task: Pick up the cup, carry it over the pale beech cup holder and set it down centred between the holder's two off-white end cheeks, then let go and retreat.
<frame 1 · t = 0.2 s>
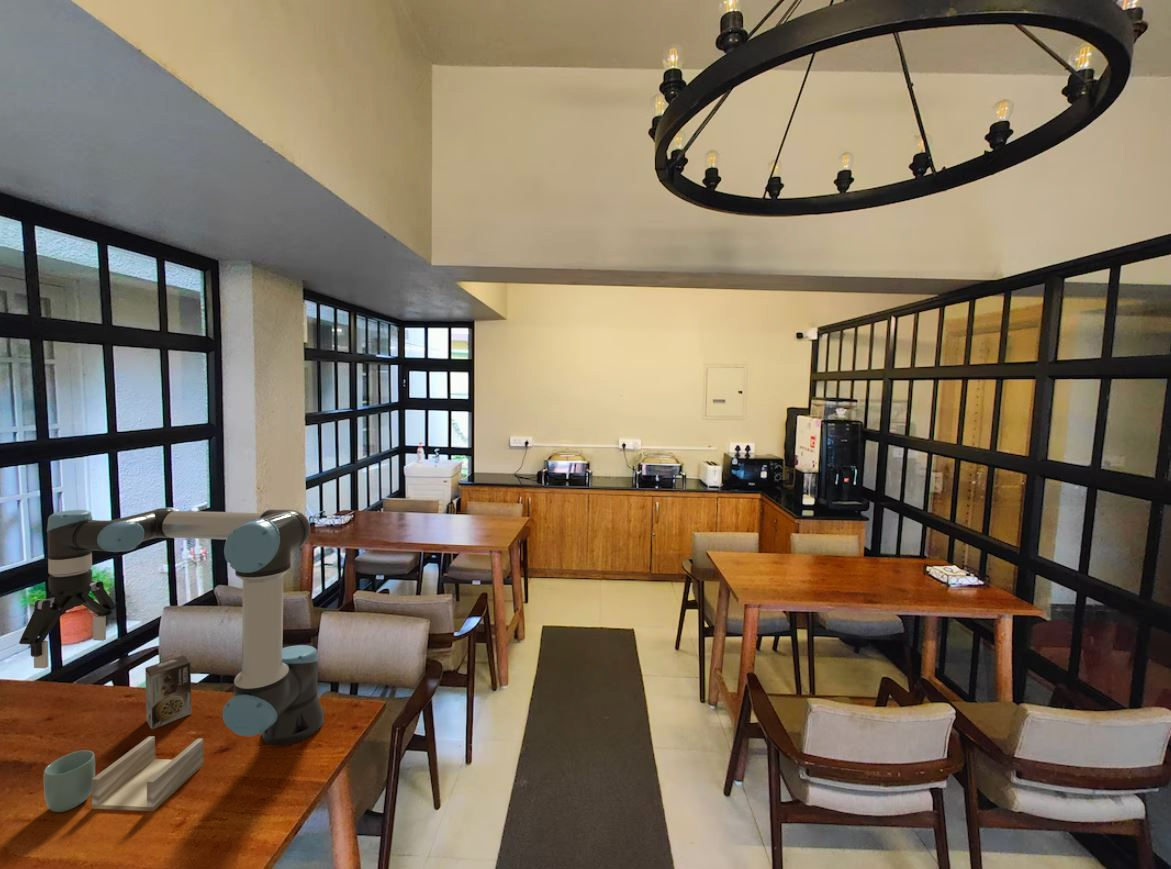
hand: (72, 653, 121), 27 cm above the table, fingers open, 13 cm apart
cup holder: (151, 785, 114), on the table
cup: (70, 804, 108), on the table
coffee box: (168, 718, 138), on the table
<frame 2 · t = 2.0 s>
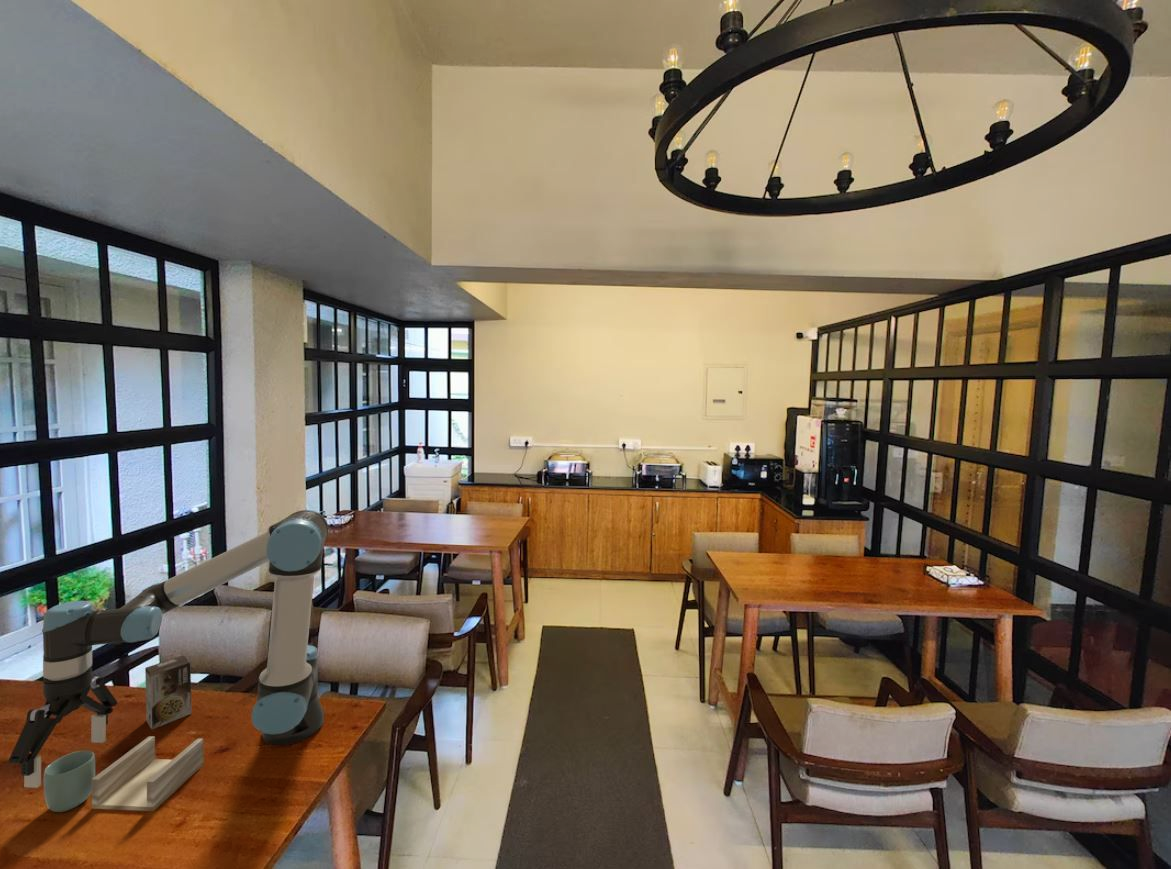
hand: (67, 762, 107), 10 cm above the table, fingers open, 13 cm apart
nothing on the table moved.
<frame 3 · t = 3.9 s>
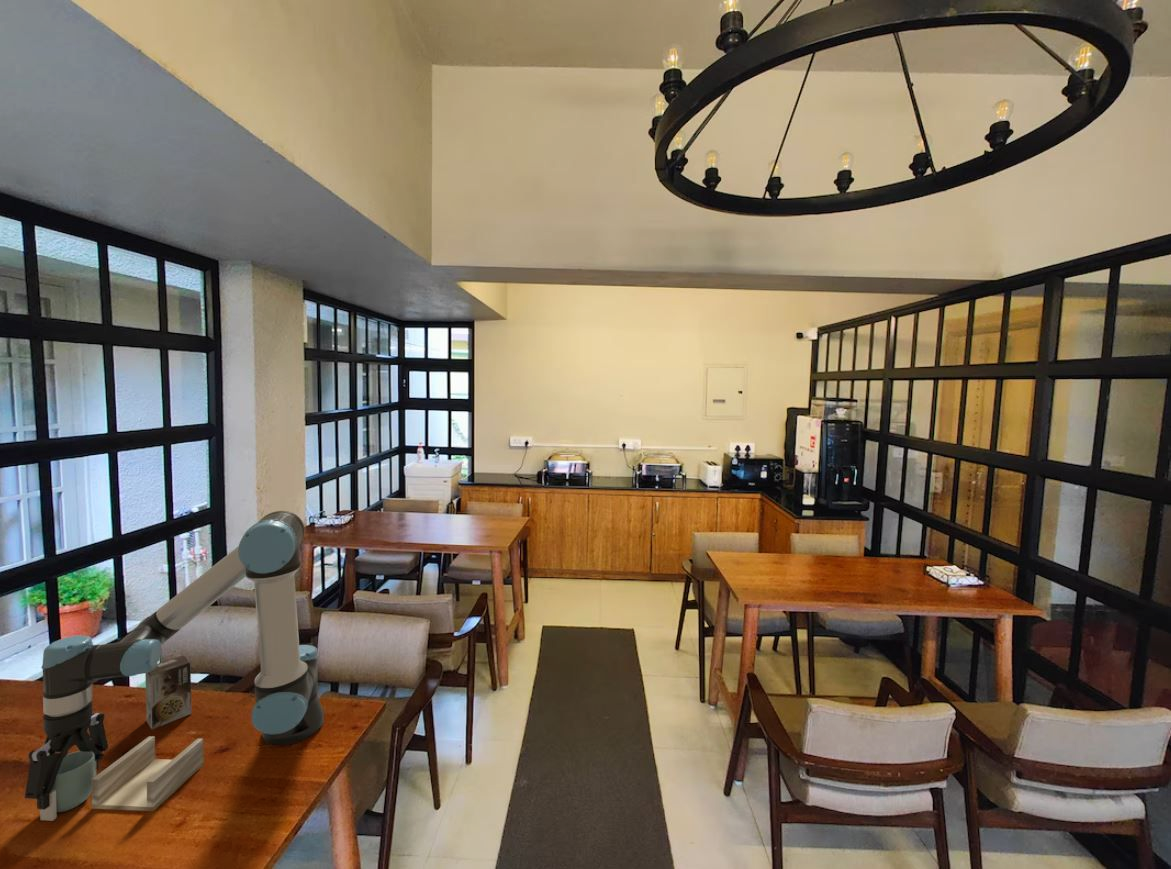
hand: (69, 802, 108), 0 cm above the table, fingers closed on cup, 8 cm apart
cup: (70, 804, 108), on the table, touching gripper
everything else where it was.
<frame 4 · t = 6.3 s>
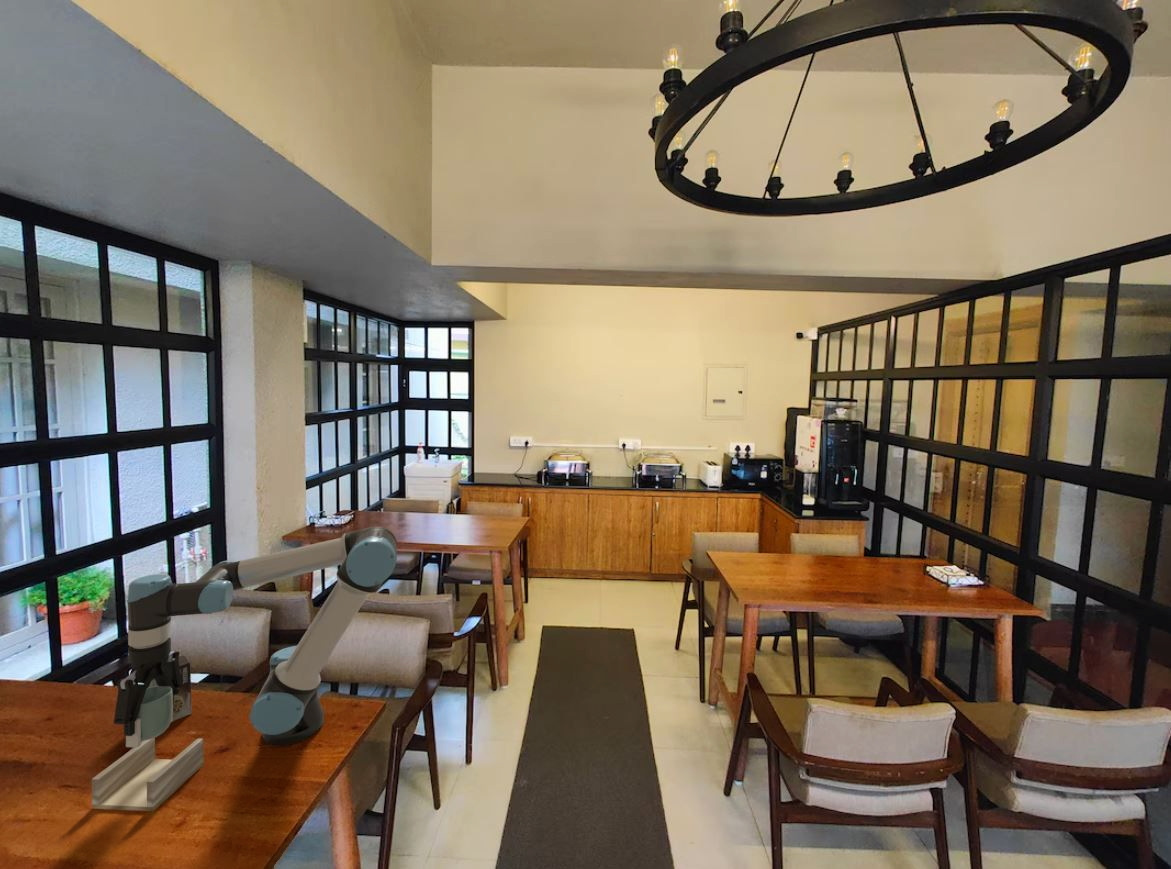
hand: (150, 733, 113), 13 cm above the table, fingers closed on cup, 8 cm apart
cup: (151, 735, 113), point 13 cm above the table, touching gripper
everything else where it was.
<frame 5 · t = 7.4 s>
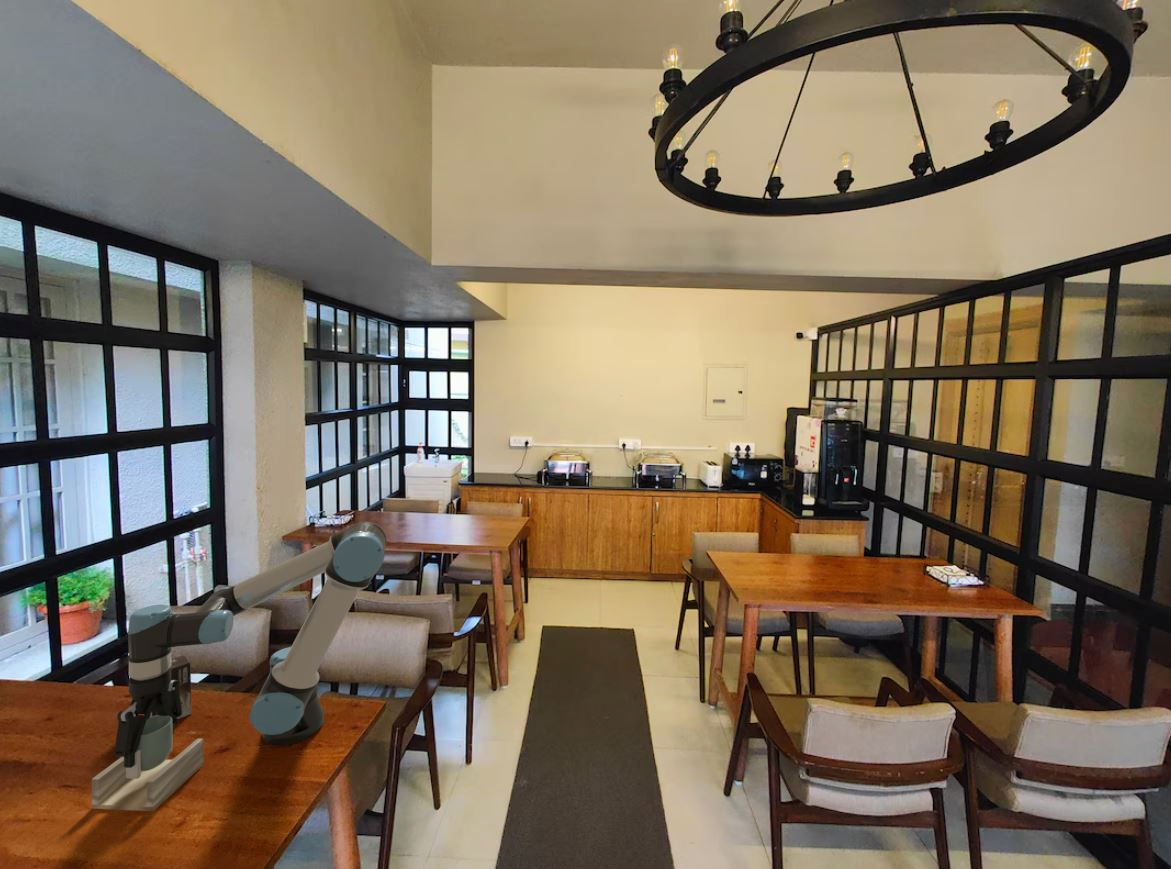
hand: (150, 763, 114), 6 cm above the table, fingers closed on cup, 8 cm apart
cup: (150, 765, 114), point 5 cm above the table, touching gripper
everything else where it was.
when the fingers open (3 cm above the table, at t = 8.4 s): cup drops 2 cm, resting on cup holder.
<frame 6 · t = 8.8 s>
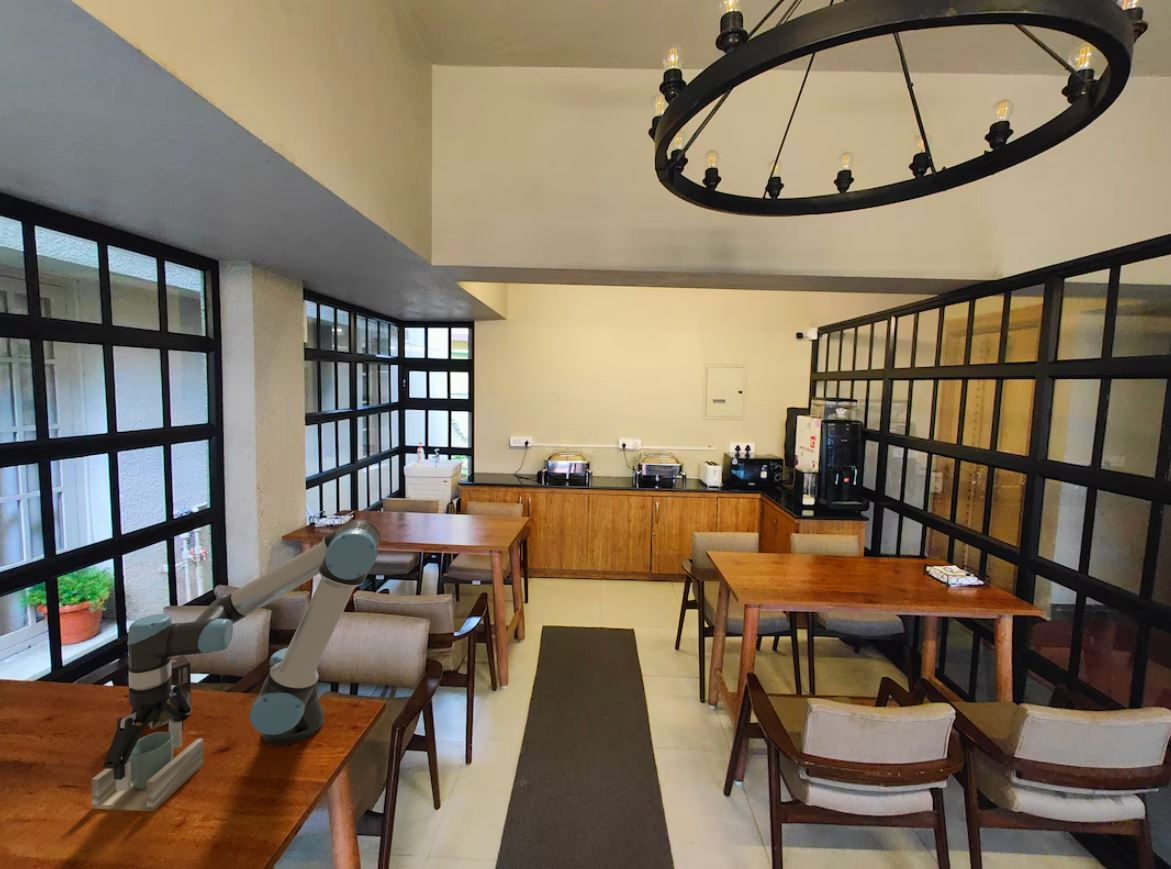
hand: (151, 766, 114), 5 cm above the table, fingers open, 13 cm apart
cup: (151, 782, 114), point 1 cm above the table, touching cup holder
everything else where it was.
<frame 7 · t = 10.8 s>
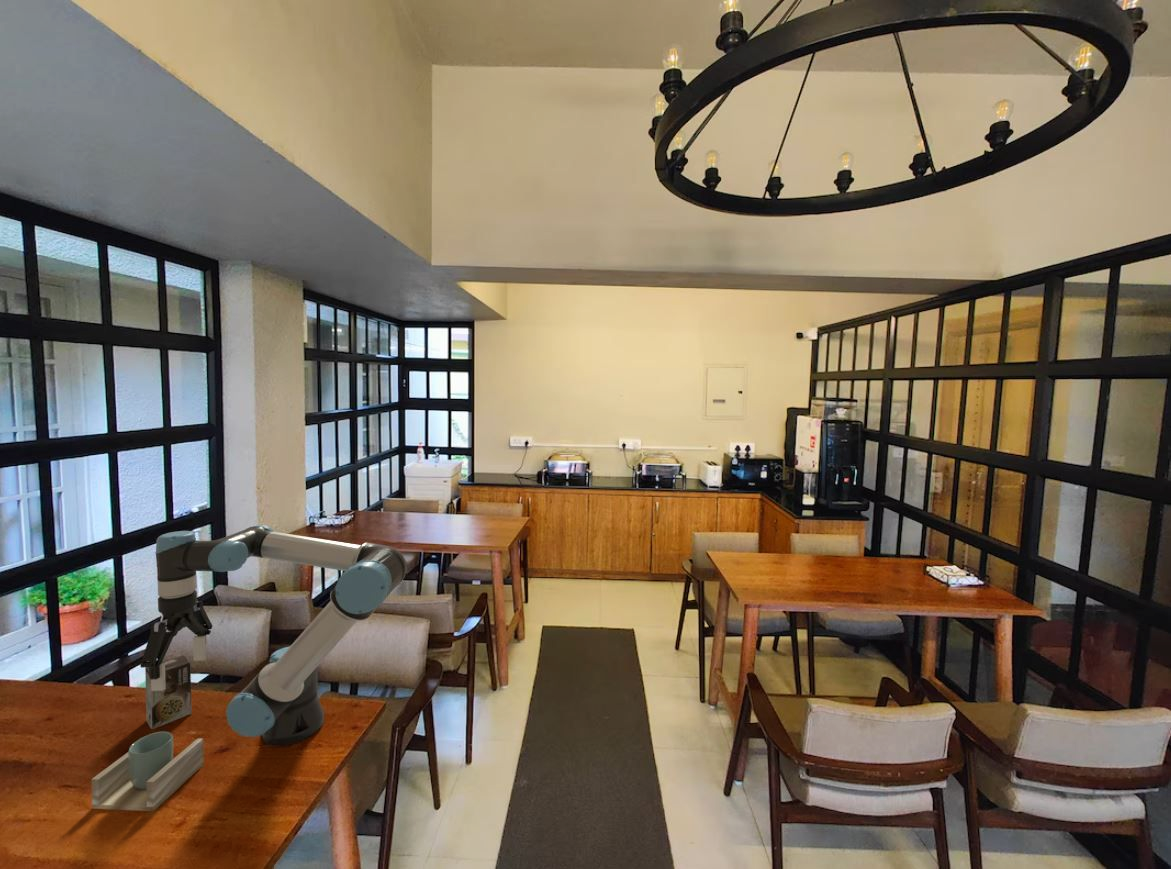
hand: (180, 674, 121), 23 cm above the table, fingers open, 13 cm apart
nothing on the table moved.
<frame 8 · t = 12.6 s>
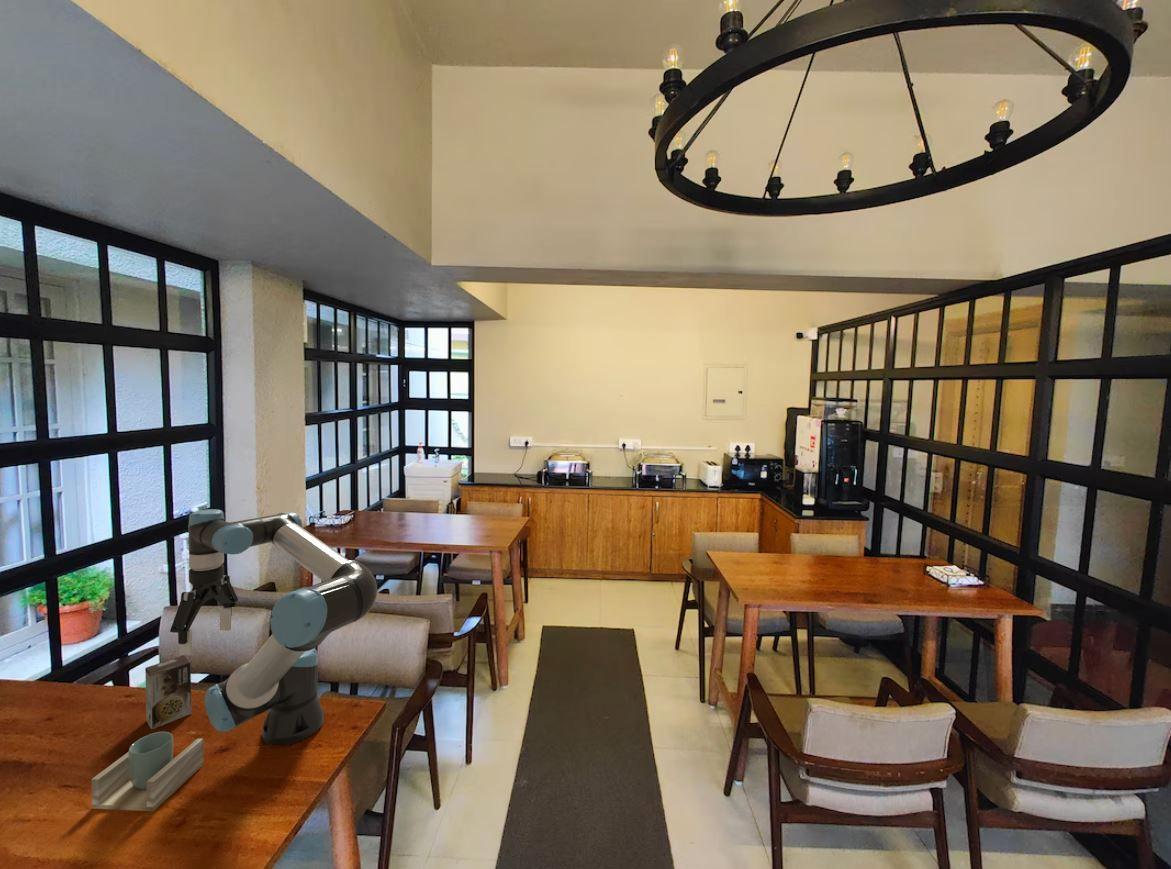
hand: (206, 641, 131), 27 cm above the table, fingers open, 13 cm apart
nothing on the table moved.
at the end: cup inside the target area on the cup holder (0.2 cm from its centre), point 0.8 cm above the cup holder's base; cup tilted 0°; the gripper is holding nothing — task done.
